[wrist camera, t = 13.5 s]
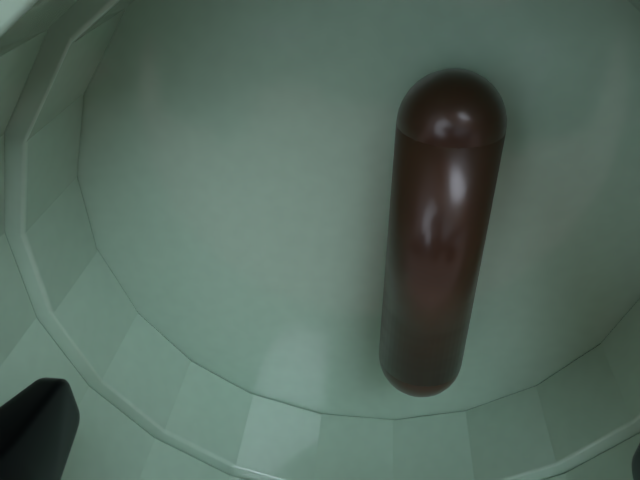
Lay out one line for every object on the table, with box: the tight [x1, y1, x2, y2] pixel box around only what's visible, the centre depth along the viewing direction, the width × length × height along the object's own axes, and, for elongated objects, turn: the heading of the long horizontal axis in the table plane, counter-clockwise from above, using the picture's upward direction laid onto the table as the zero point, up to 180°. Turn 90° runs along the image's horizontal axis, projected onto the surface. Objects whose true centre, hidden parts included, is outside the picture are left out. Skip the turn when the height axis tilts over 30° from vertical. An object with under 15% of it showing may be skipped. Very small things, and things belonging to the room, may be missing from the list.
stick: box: [379, 68, 507, 397], centre depth 13 cm, size 2×8×2 cm
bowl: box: [0, 0, 640, 480], centre depth 12 cm, size 15×15×6 cm
